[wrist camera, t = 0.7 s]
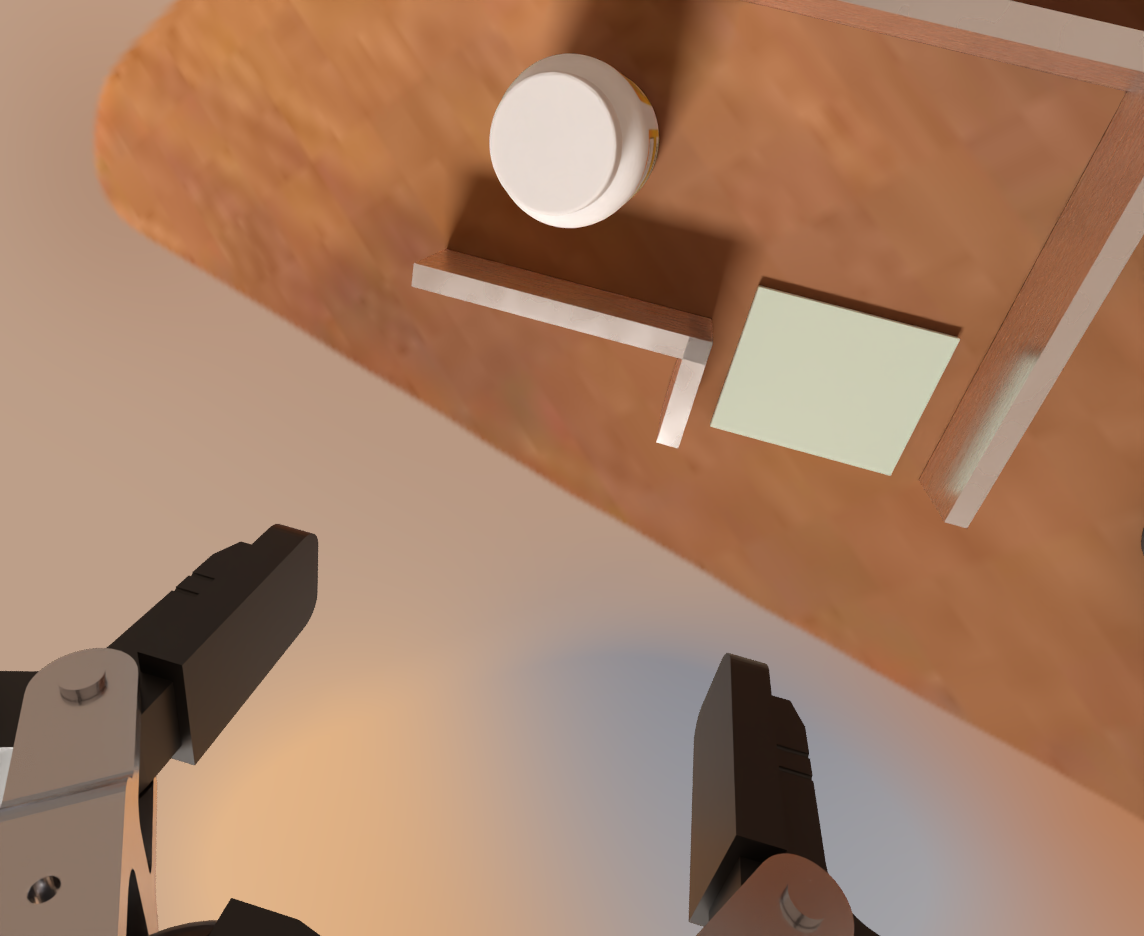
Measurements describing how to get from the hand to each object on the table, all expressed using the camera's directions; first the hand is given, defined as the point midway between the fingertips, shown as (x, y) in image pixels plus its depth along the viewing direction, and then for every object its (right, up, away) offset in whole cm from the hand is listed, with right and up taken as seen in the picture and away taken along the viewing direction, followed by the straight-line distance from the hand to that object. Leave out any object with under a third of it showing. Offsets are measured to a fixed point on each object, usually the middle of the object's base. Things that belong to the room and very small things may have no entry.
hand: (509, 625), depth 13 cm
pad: (+13, +7, +19) cm, 24 cm away
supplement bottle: (+2, +17, +16) cm, 24 cm away
